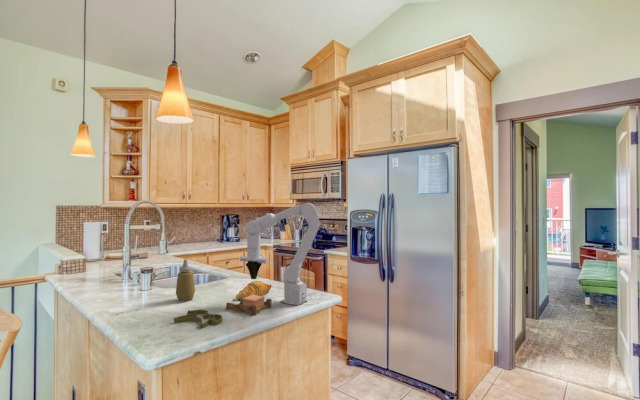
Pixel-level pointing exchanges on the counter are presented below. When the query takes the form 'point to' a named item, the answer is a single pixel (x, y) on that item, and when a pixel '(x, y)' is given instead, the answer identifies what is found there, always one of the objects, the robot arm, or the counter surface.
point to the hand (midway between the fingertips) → (253, 278)
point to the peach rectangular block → (253, 301)
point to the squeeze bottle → (185, 283)
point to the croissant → (254, 289)
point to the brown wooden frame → (246, 309)
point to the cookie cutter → (193, 317)
